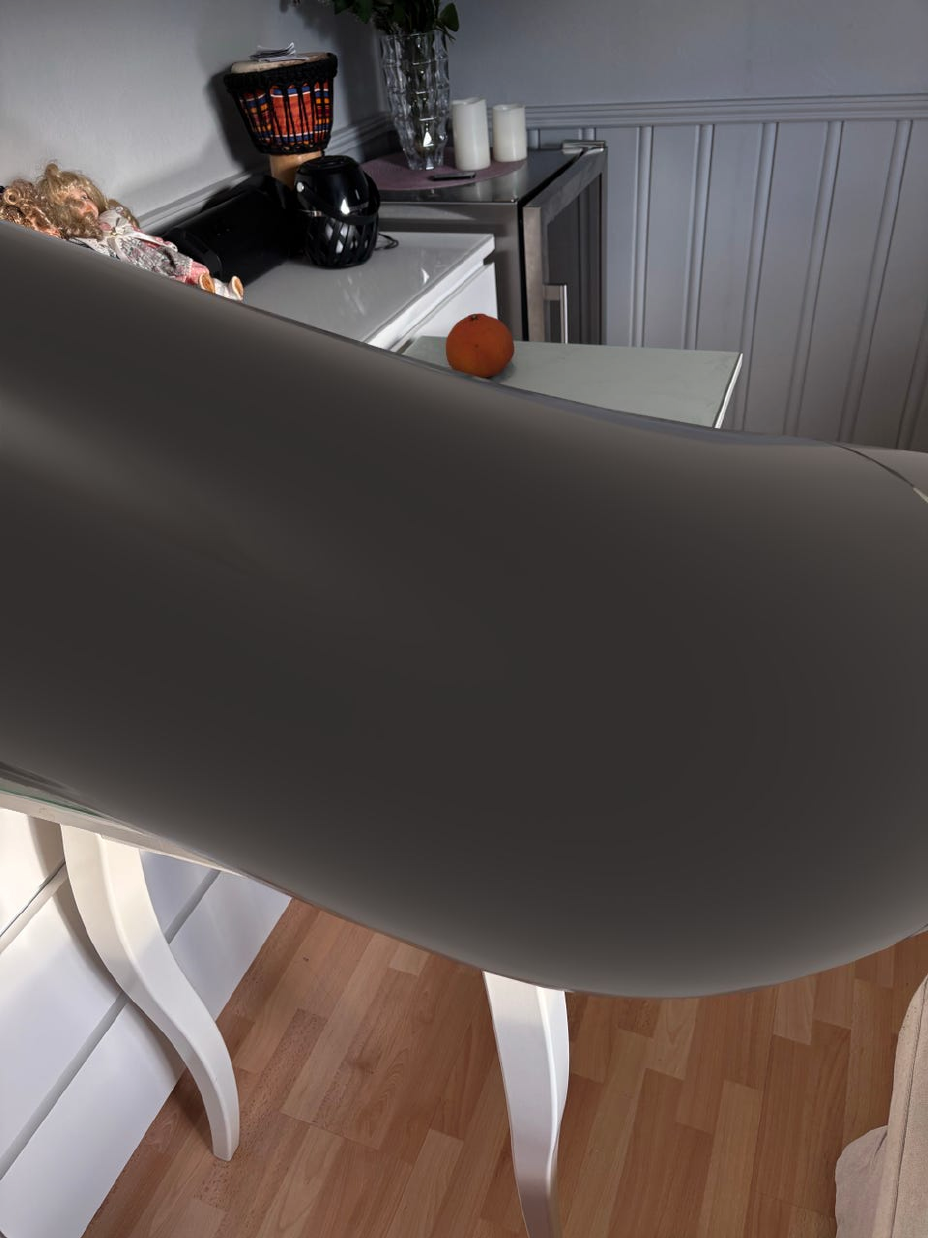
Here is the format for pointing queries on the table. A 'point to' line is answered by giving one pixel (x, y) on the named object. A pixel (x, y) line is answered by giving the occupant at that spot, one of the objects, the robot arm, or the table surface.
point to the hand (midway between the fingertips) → (522, 754)
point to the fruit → (479, 346)
